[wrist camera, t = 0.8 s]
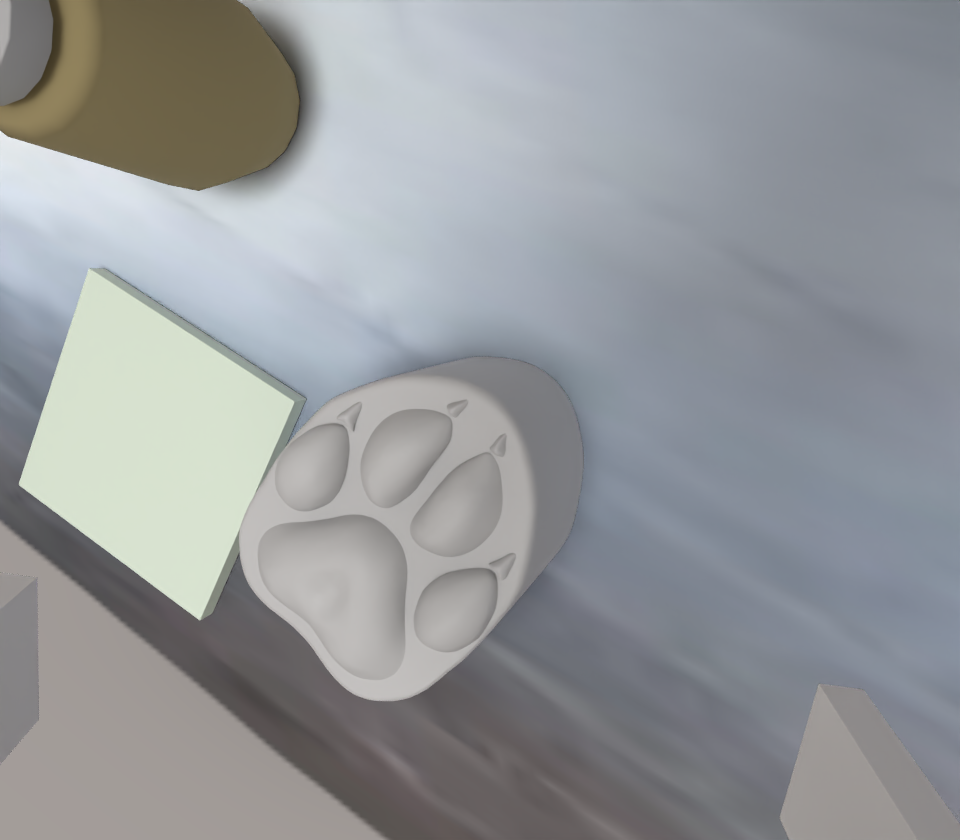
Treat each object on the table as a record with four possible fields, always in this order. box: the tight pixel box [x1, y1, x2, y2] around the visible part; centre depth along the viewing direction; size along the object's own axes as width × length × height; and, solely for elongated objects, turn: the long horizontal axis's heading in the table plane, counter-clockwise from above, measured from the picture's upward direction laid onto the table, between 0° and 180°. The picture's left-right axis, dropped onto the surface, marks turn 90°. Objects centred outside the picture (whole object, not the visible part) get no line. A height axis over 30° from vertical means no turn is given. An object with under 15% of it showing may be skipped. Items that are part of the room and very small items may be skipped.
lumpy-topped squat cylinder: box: [239, 356, 584, 701], centre depth 33 cm, size 10×13×9 cm
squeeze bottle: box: [0, 0, 300, 191], centre depth 29 cm, size 8×8×18 cm
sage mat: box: [19, 268, 306, 620], centre depth 42 cm, size 13×13×1 cm
